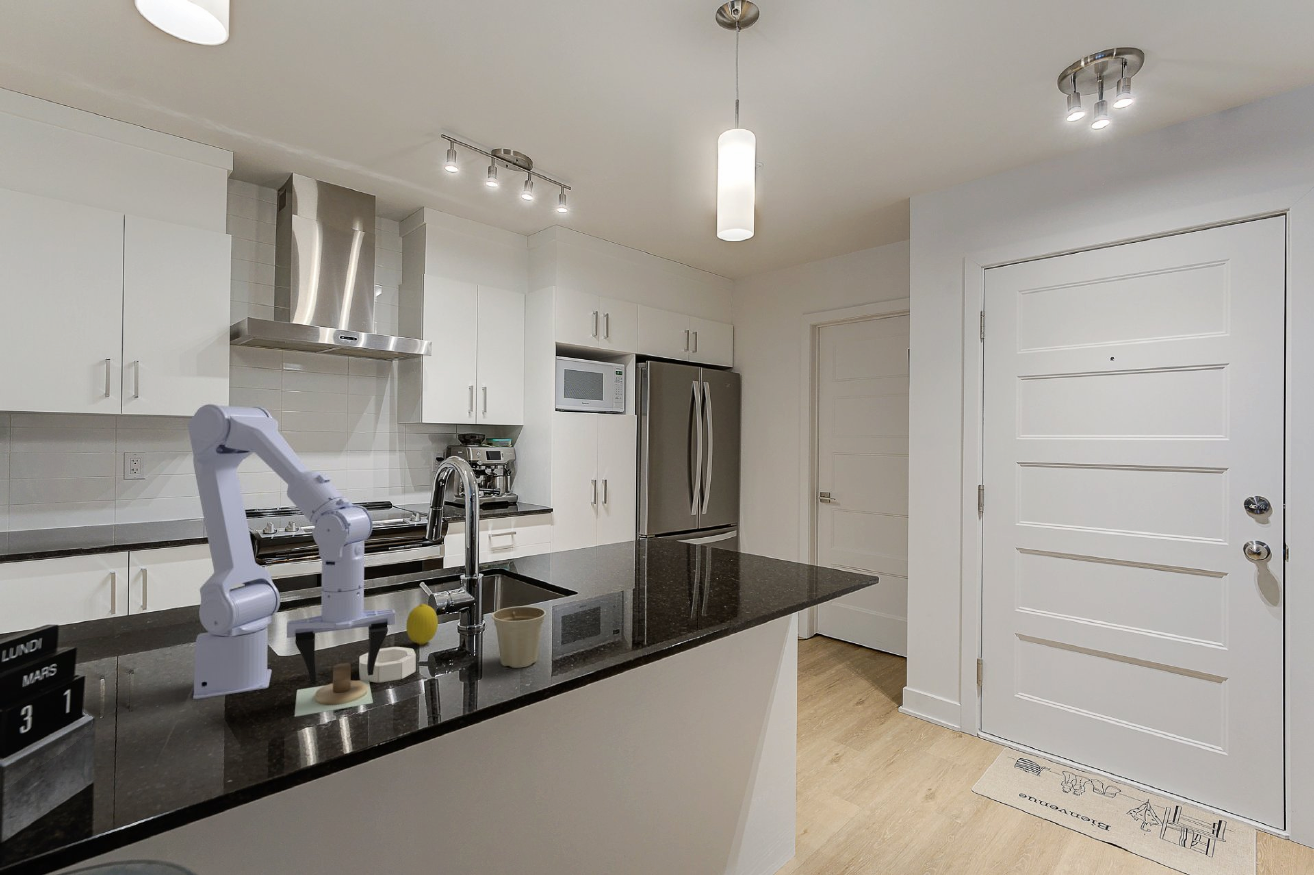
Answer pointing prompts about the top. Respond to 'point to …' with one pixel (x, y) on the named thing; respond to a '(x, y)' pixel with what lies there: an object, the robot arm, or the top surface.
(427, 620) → the lemon
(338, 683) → the lid
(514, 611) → the flower pot
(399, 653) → the bowl
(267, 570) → the robot arm
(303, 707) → the mat
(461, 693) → the top surface
